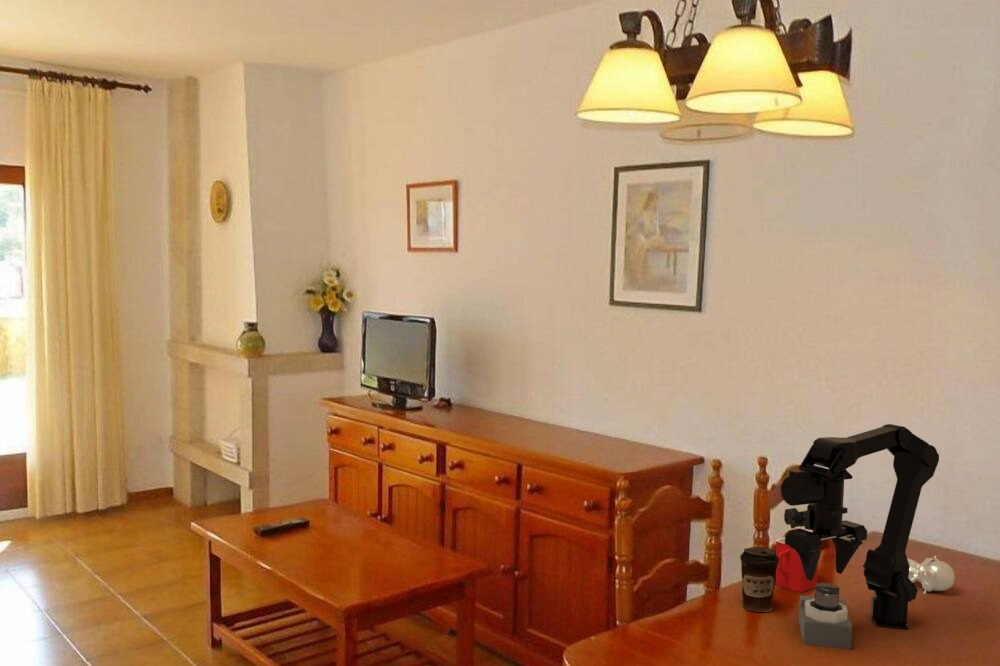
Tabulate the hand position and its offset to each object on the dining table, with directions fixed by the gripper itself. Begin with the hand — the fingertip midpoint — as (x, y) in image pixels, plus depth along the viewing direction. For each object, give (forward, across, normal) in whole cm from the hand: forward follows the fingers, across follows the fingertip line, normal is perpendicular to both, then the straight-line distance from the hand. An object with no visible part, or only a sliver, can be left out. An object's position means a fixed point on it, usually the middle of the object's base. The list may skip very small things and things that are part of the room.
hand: (824, 576), depth 181 cm
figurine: (+13, -47, -9) cm, 49 cm away
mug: (+13, -19, -24) cm, 33 cm away
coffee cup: (+13, -1, -18) cm, 22 cm away
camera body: (+13, -1, 0) cm, 13 cm away
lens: (+8, -1, 0) cm, 8 cm away
